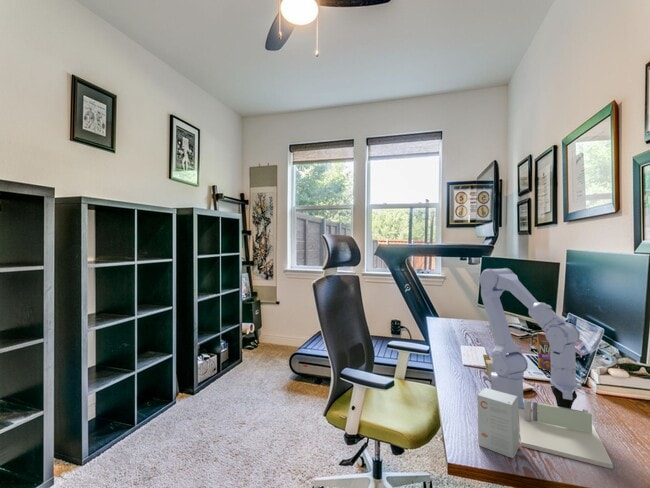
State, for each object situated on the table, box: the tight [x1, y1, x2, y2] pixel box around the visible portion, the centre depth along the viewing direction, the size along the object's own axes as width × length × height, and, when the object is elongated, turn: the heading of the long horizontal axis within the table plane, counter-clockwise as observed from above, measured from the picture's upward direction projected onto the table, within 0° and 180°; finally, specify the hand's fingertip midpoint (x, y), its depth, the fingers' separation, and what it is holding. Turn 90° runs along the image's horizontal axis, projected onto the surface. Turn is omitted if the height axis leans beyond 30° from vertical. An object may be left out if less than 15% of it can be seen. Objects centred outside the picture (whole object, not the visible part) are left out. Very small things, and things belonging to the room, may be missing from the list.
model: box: [482, 353, 496, 382], centre depth 128 cm, size 3×11×8 cm, turn 169°
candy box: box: [536, 331, 551, 372], centre depth 132 cm, size 9×4×15 cm, turn 17°
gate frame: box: [518, 399, 614, 470], centre depth 87 cm, size 18×20×6 cm
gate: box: [532, 401, 593, 433], centre depth 89 cm, size 13×1×5 cm, turn 61°
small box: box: [477, 387, 520, 459], centre depth 82 cm, size 8×6×13 cm
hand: (563, 414), depth 91 cm, fingers closed
